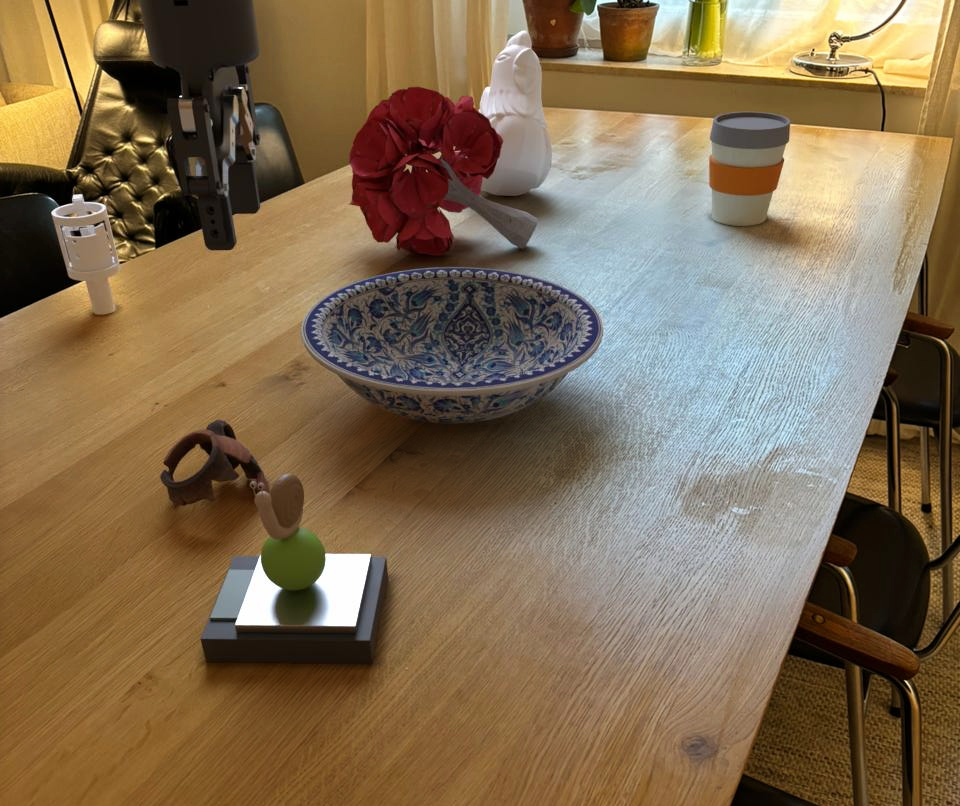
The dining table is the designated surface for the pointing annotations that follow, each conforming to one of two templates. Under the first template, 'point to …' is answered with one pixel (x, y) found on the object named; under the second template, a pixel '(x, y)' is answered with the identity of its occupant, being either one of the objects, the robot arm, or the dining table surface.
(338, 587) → the scale platter
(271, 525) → the snail figurine
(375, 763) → the dining table surface
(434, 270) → the ceramic bowl
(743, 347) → the dining table surface
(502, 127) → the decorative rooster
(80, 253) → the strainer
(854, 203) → the dining table surface
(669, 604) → the dining table surface
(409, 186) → the bouquet
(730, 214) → the reusable coffee cup
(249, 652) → the scale
